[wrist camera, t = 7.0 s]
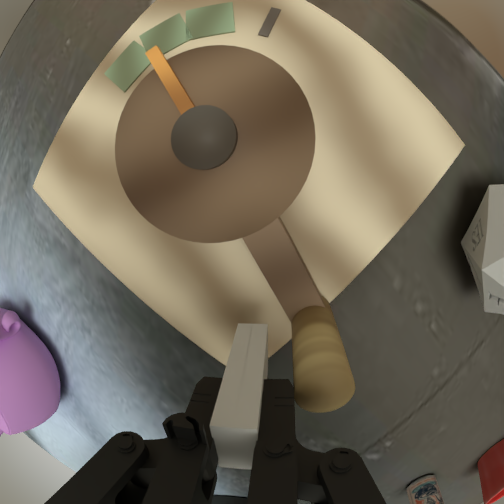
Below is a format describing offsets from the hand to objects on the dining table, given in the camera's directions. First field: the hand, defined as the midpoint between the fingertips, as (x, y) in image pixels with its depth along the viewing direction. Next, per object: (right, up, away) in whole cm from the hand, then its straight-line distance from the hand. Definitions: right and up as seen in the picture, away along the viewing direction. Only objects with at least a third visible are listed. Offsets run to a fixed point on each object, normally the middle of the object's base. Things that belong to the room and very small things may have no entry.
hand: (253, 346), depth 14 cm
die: (+18, +6, +2) cm, 19 cm away
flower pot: (+41, -29, +9) cm, 51 cm away
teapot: (-27, -8, +10) cm, 30 cm away
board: (-2, +11, +2) cm, 11 cm away
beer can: (+25, -29, +11) cm, 40 cm away
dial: (0, +8, +1) cm, 8 cm away
